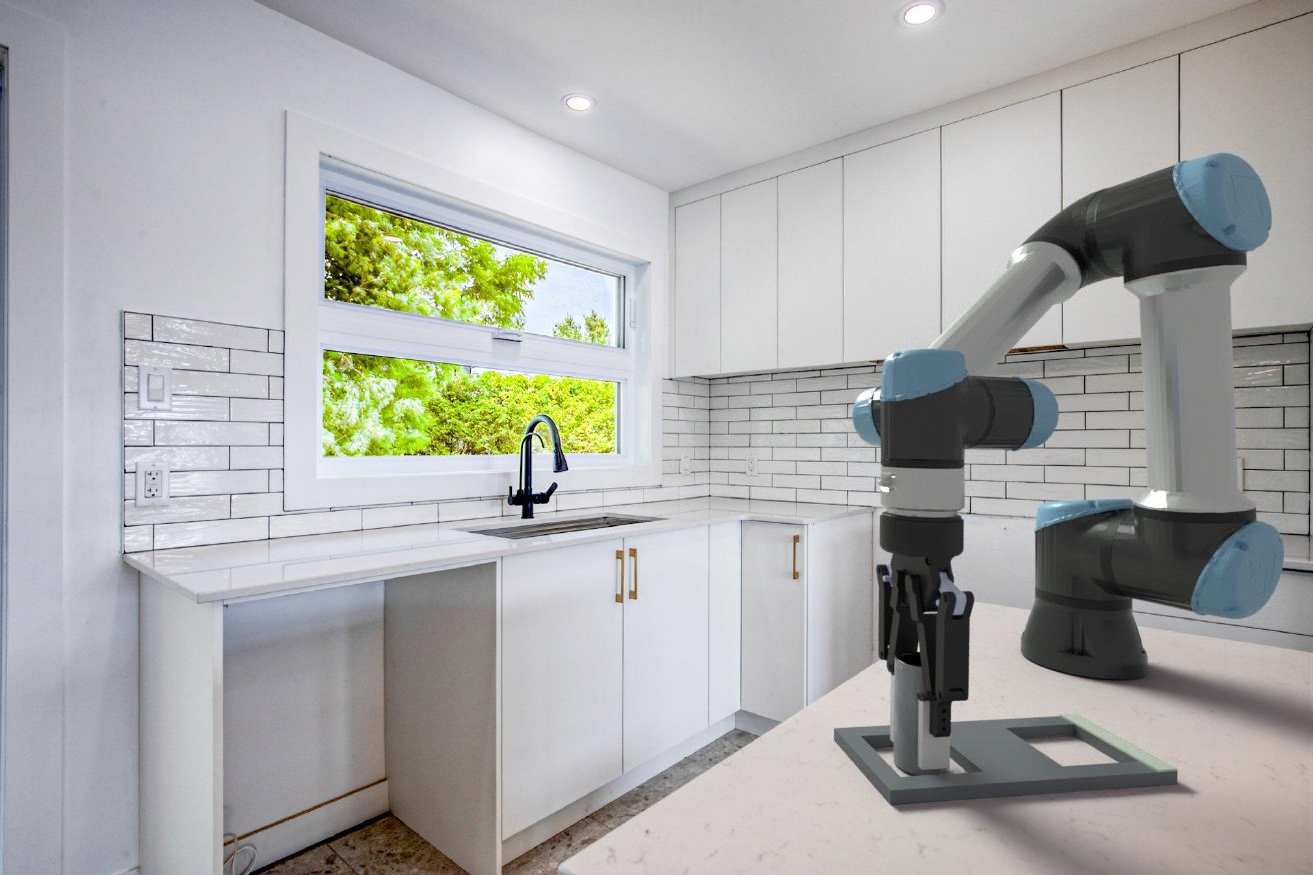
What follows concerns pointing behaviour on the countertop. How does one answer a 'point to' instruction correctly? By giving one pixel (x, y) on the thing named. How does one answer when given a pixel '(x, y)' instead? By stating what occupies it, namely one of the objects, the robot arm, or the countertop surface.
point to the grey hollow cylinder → (908, 712)
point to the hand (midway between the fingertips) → (918, 752)
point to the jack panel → (1007, 761)
